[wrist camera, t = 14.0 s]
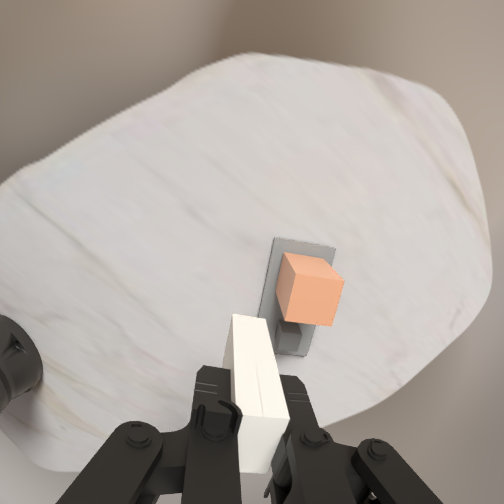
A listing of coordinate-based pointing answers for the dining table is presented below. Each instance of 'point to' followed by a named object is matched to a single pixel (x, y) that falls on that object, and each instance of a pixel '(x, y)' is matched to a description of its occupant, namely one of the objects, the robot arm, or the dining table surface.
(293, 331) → the stand
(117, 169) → the dining table surface
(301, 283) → the orange block
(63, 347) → the dining table surface
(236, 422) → the robot arm
